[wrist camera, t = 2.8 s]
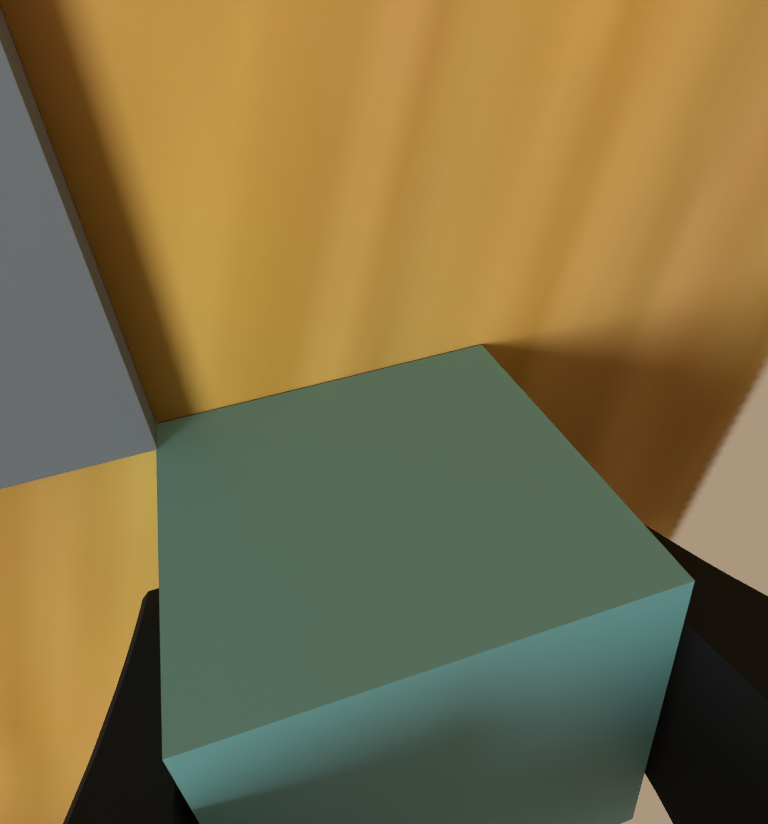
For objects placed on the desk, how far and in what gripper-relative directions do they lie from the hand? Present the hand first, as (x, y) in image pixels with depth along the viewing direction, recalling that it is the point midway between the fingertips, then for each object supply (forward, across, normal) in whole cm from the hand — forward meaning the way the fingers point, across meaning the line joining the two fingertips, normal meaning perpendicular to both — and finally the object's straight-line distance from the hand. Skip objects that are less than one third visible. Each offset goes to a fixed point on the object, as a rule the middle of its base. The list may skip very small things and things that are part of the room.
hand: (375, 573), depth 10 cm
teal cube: (+2, 0, 0) cm, 2 cm away
